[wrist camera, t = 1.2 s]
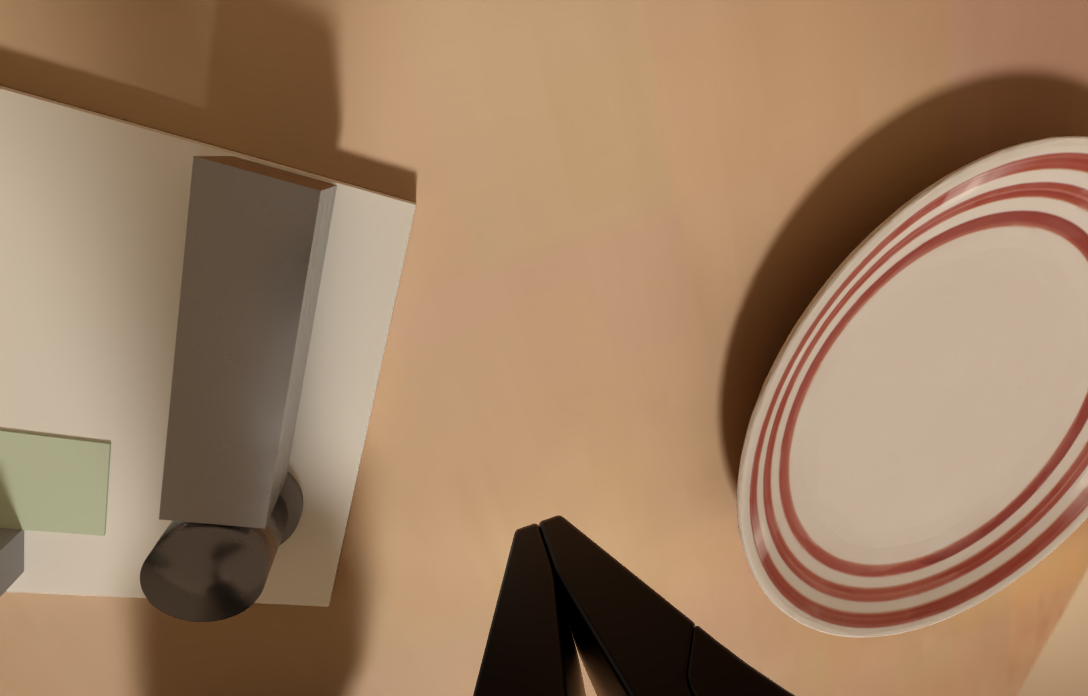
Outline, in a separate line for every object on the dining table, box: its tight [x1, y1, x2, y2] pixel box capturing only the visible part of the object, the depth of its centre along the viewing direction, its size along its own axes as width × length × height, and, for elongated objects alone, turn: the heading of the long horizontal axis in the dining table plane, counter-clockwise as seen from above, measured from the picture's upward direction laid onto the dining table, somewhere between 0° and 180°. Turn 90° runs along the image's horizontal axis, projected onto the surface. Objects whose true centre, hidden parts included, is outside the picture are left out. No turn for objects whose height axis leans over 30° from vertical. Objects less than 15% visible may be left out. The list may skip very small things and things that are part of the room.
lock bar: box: [140, 156, 337, 622], centre depth 17 cm, size 15×4×3 cm, turn 163°
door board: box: [0, 86, 416, 607], centre depth 17 cm, size 18×20×4 cm
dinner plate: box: [737, 136, 1088, 637], centre depth 27 cm, size 27×27×3 cm
